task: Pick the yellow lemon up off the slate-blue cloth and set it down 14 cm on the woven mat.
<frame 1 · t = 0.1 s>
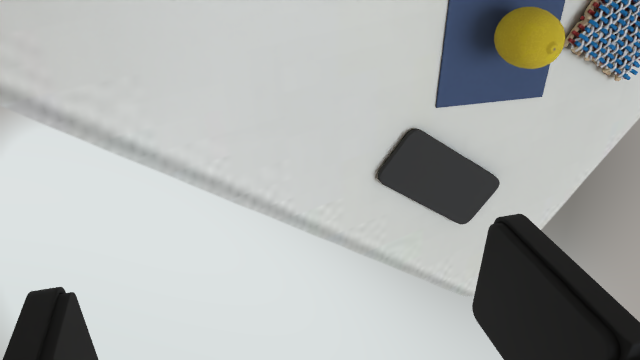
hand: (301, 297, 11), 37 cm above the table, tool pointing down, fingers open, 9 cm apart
cloth: (505, 17, 49), on the table
woven mat: (617, 19, 53), on the table
lemon: (503, 27, 50), resting on cloth
phone: (438, 177, 57), on the table
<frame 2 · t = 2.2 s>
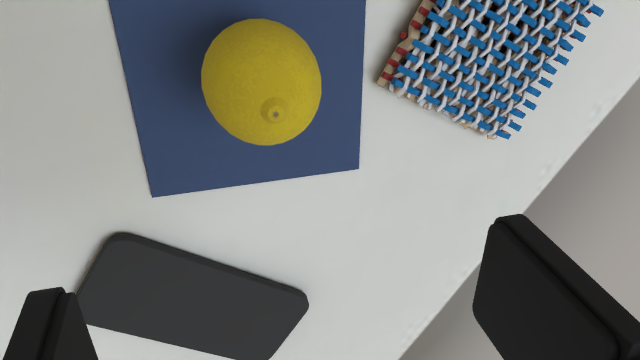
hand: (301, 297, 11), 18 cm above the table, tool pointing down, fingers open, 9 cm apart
cloth: (248, 37, 26), on the table
woven mat: (478, 36, 30), on the table
lemon: (249, 55, 26), resting on cloth
phone: (198, 299, 34), on the table
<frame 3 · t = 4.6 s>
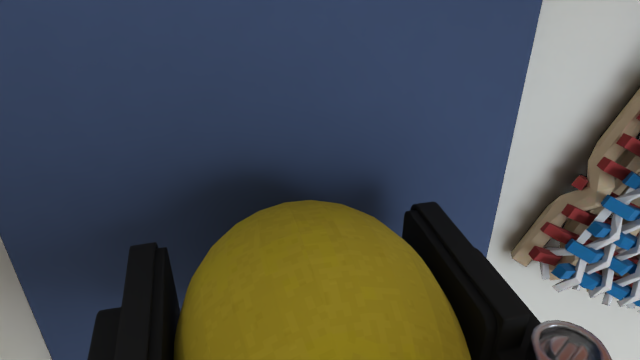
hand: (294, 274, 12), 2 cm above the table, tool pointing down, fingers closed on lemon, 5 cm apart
cloth: (279, 199, 13), on the table
lemon: (281, 230, 13), resting on cloth, touching gripper
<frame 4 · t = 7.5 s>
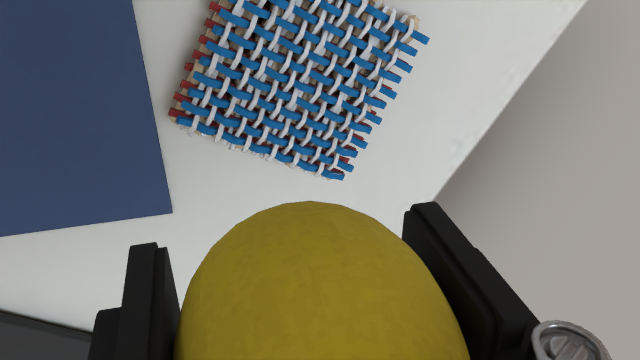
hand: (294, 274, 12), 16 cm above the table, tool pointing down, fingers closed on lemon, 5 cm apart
woven mat: (293, 65, 26), on the table
lemon: (280, 231, 13), point 14 cm above the table, touching gripper
phone: (7, 355, 31), on the table
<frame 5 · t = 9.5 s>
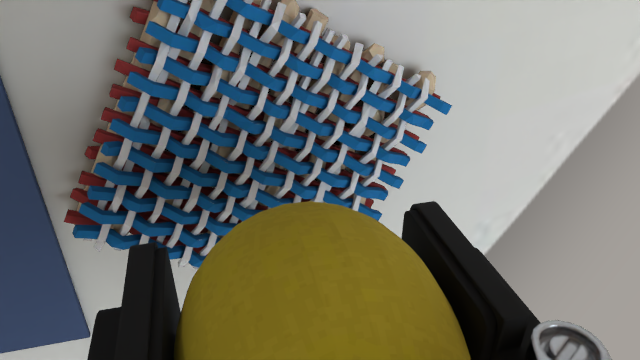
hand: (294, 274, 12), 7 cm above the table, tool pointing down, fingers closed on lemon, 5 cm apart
woven mat: (254, 140, 18), on the table
lemon: (281, 231, 13), point 6 cm above the table, touching gripper
when the fingers open (4 cm above the table, at t = 10.8 s): lemon stays where it is, resting on woven mat.
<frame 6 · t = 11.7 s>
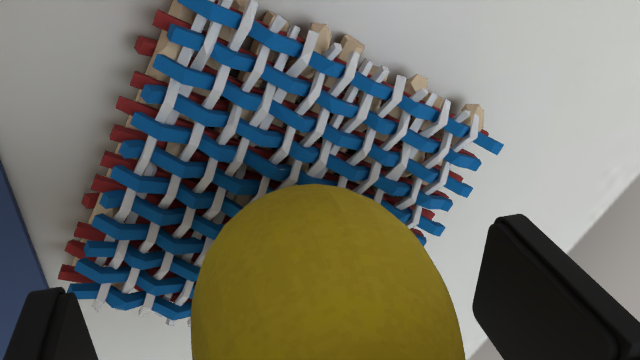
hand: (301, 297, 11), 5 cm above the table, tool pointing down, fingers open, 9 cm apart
woven mat: (274, 181, 16), on the table, touching lemon
lemon: (286, 216, 14), point 2 cm above the table, touching woven mat
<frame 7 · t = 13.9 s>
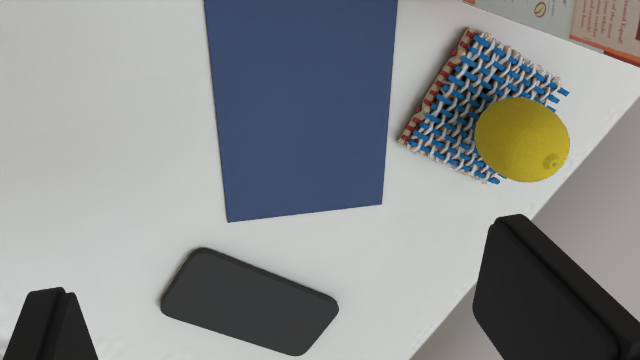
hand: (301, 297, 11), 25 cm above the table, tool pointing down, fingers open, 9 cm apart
cloth: (305, 110, 36), on the table
woven mat: (474, 107, 39), on the table, touching lemon
lemon: (488, 117, 38), point 2 cm above the table, touching woven mat
phone: (253, 302, 44), on the table
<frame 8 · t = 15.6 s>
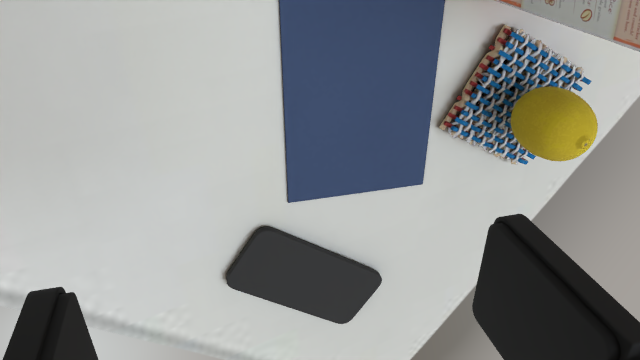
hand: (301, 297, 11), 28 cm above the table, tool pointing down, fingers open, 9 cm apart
cloth: (360, 100, 41), on the table
woven mat: (506, 96, 44), on the table, touching lemon
lemon: (520, 104, 42), point 2 cm above the table, touching woven mat
phone: (306, 274, 49), on the table
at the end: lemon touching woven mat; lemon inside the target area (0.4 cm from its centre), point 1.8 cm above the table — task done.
